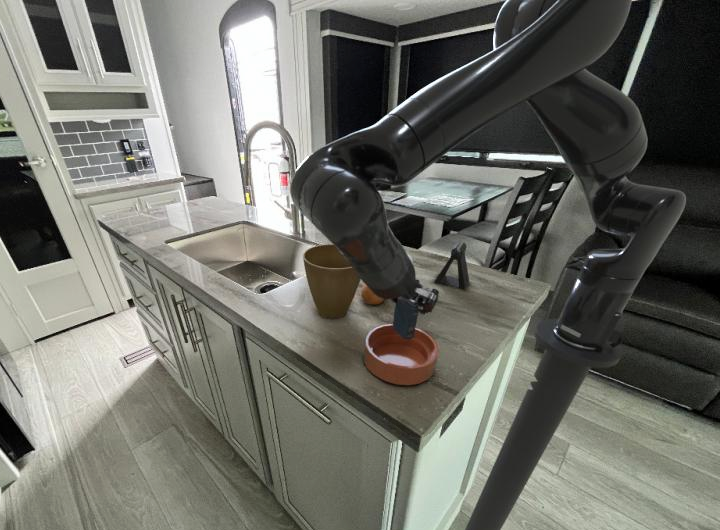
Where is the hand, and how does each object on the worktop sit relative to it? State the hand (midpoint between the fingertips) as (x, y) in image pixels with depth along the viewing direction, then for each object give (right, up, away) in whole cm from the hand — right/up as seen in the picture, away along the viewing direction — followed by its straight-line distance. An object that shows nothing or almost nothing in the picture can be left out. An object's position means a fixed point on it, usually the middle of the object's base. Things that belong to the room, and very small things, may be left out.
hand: (411, 304), depth 61 cm
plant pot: (-14, -2, +23) cm, 27 cm away
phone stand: (+23, +6, +37) cm, 44 cm away
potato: (-2, +1, +30) cm, 30 cm away
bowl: (-1, -12, +6) cm, 14 cm away
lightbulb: (+6, +4, +34) cm, 35 cm away
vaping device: (-1, -6, +2) cm, 6 cm away
